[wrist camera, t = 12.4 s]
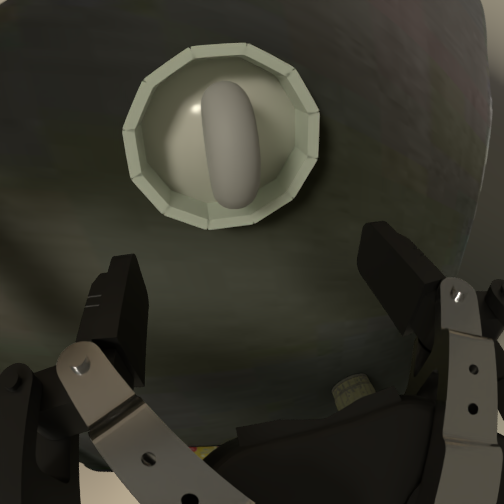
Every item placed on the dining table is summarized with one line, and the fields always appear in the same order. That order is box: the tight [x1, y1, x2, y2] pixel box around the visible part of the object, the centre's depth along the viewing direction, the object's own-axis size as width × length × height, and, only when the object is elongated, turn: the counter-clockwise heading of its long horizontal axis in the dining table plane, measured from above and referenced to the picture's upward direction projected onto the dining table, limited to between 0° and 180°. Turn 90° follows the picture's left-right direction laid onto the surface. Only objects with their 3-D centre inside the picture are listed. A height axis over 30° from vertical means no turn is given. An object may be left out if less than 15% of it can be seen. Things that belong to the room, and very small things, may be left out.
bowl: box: [122, 43, 320, 230], centre depth 25 cm, size 16×16×4 cm
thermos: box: [332, 373, 376, 411], centre depth 46 cm, size 9×12×35 cm
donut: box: [201, 81, 261, 209], centre depth 22 cm, size 10×4×10 cm, turn 4°
